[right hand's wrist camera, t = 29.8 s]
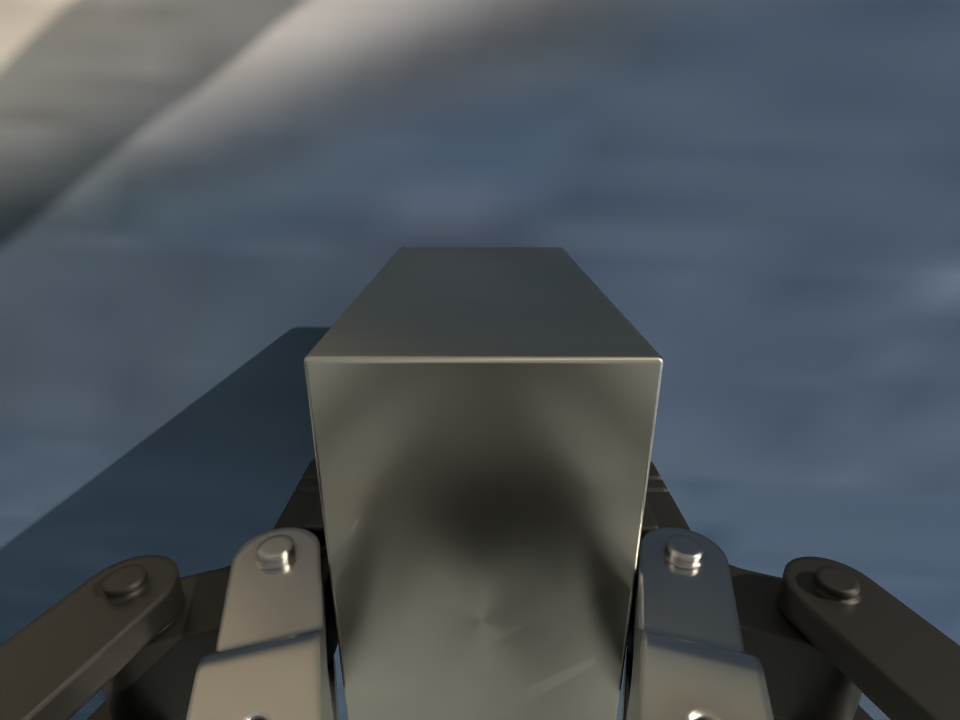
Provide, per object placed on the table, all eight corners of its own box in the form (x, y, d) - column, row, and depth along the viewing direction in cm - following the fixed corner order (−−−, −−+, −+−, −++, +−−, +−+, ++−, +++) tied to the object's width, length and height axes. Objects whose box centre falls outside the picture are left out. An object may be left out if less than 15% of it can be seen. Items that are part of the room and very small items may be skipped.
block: (563, 247, 14) (666, 358, 6) (549, 507, 17) (607, 801, 9) (399, 247, 14) (300, 357, 6) (412, 506, 17) (356, 802, 9)
